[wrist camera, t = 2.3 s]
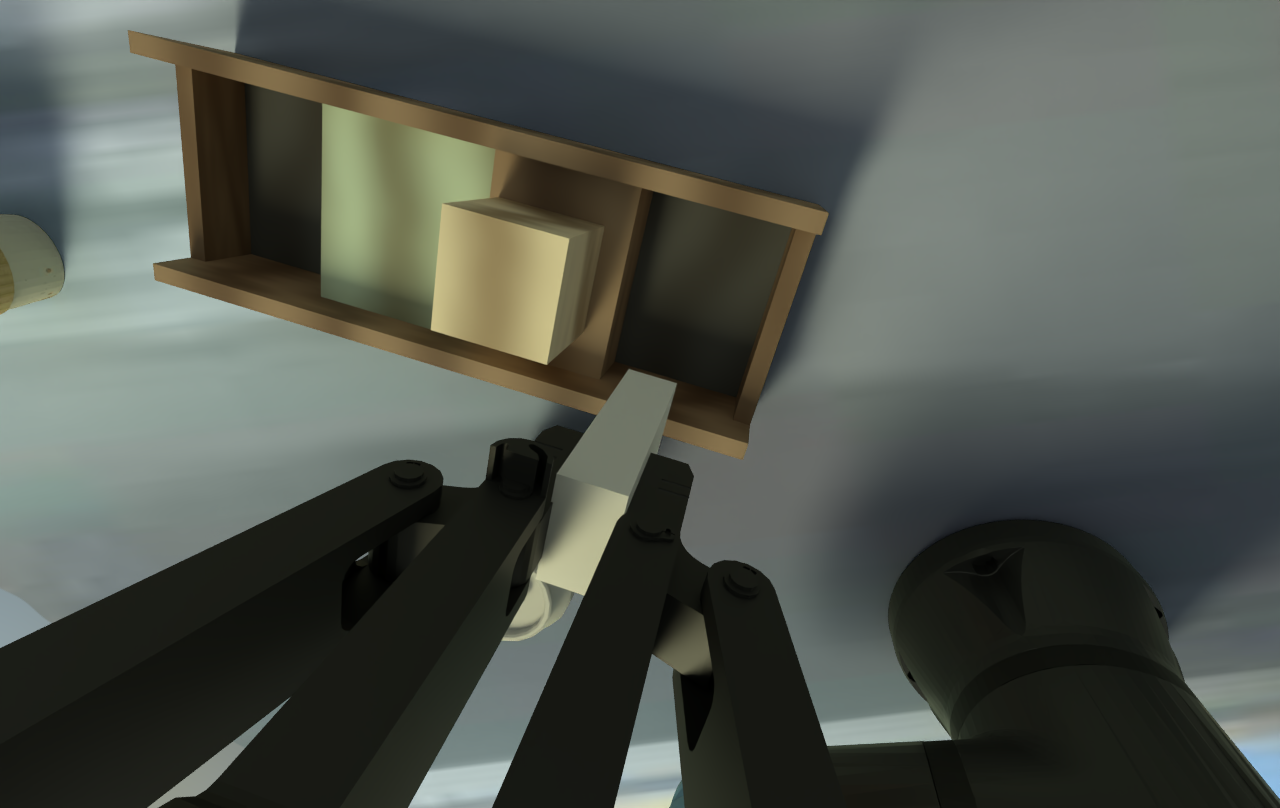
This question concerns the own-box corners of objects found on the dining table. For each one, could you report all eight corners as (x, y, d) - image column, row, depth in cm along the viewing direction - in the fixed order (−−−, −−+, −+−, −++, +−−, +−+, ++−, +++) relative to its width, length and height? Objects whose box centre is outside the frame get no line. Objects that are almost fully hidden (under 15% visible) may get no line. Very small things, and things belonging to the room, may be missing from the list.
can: (500, 451, 43) (407, 550, 32) (595, 430, 40) (530, 528, 29) (538, 539, 45) (462, 659, 34) (630, 523, 43) (581, 646, 32)
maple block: (604, 225, 31) (569, 238, 26) (583, 332, 34) (546, 364, 28) (498, 197, 32) (442, 203, 26) (485, 303, 34) (430, 330, 29)
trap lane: (818, 204, 32) (828, 213, 26) (747, 413, 38) (742, 459, 32) (234, 52, 36) (128, 30, 30) (243, 263, 41) (154, 279, 35)
